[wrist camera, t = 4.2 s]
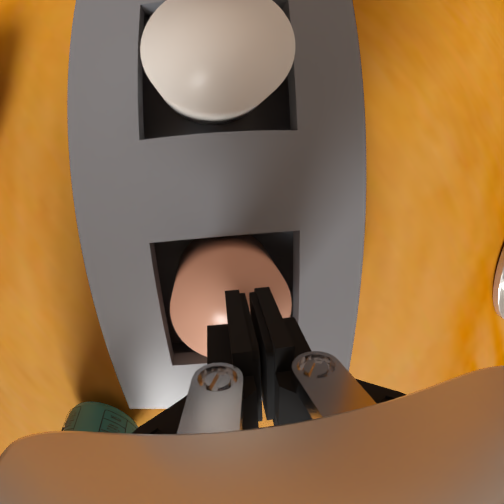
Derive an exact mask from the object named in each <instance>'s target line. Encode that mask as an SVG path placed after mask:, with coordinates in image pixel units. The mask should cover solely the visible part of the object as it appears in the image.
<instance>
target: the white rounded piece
mask: <svg viewBox="0 0 504 504" xmlns="http://www.w3.org/2000/svg"><path fill="white" fill-rule="evenodd" d="M140 53H141V61H142V65H143V68H144V70H145V73H146V75H147V76H148V78H149V80H150V81H151V83H152V84H153V85H154V87H155V88H156V89H157V91H158V92H159V93H160V95H161V96H162V97H163V99H164V100H165V101H166V103H167V104H168V105H169V106H170V108H171V109H173V110H174V111H175V112H176V113H177V114H179V115H180V116H182V117H184V118H185V119H187V120H190V121H193V122H196V123H200V124H207V125H218V124H225V123H229V122H233V121H235V120H238V119H240V118H242V117H244V116H246V115H247V114H249V113H250V112H251V111H253V110H254V109H255V108H256V107H257V106H258V105H259V104H260V103H261V102H262V101H264V100H265V99H266V98H267V97H268V96H269V95H270V94H271V93H272V92H274V91H275V90H276V89H277V88H278V87H279V86H280V84H281V83H282V82H283V81H284V79H285V78H286V76H287V75H288V73H289V71H290V69H291V67H292V64H293V61H294V56H295V36H294V32H293V29H292V26H291V24H290V22H289V20H288V18H287V16H286V15H285V13H284V12H283V11H282V9H281V8H280V7H279V6H278V5H277V4H276V3H275V2H274V1H272V0H166V1H165V2H164V3H163V4H161V5H160V6H159V7H158V8H157V9H156V11H155V12H154V13H153V14H152V16H151V17H150V19H149V20H148V22H147V24H146V26H145V29H144V31H143V34H142V38H141V46H140Z"/></svg>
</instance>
